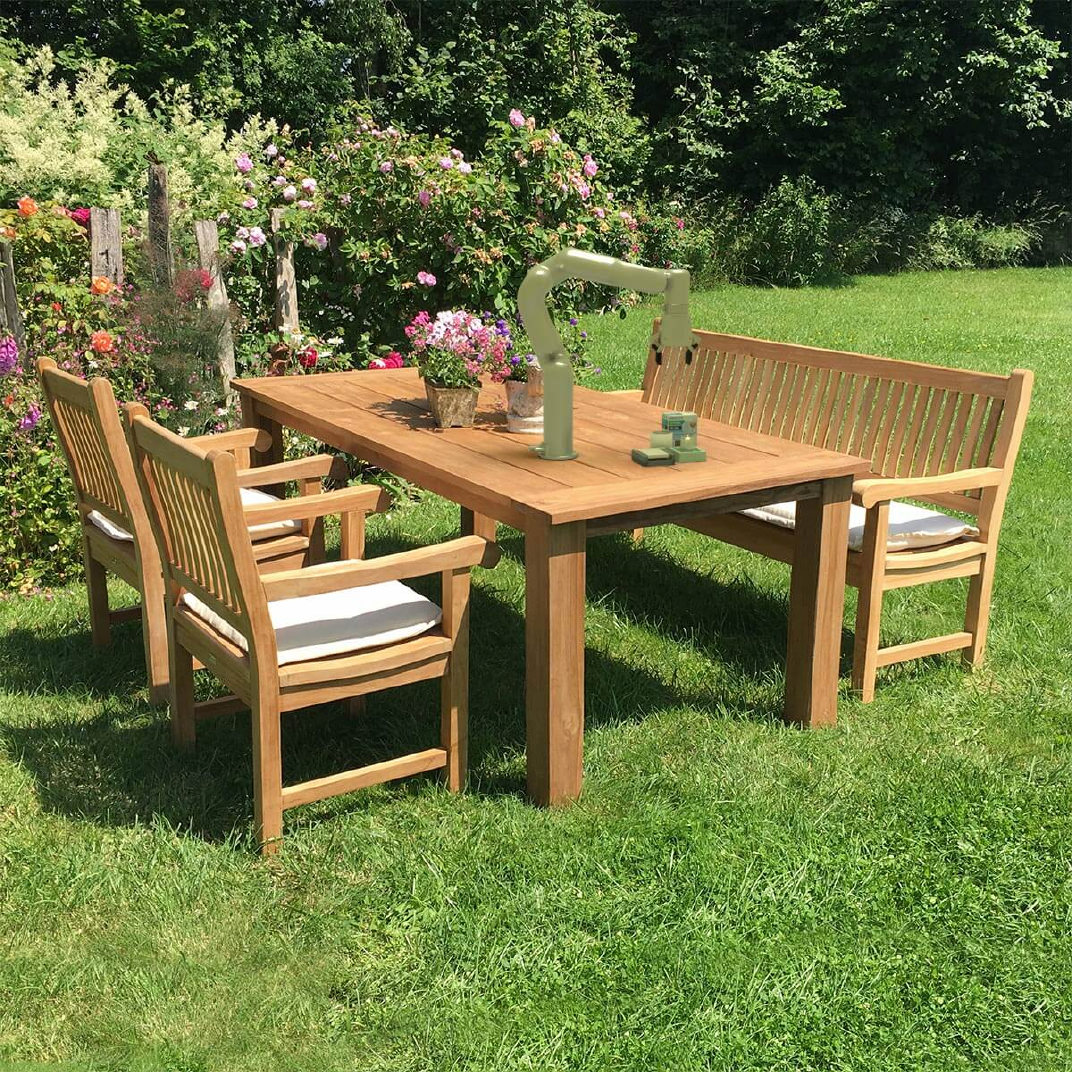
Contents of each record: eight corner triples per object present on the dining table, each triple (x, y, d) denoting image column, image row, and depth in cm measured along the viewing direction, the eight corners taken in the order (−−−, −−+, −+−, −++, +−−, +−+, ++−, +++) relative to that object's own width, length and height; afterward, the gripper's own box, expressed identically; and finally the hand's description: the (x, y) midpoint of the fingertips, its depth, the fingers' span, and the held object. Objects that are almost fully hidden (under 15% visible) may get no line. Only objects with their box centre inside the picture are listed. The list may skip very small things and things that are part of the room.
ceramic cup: (654, 456, 384) (655, 434, 382) (647, 452, 391) (647, 430, 389) (675, 455, 386) (675, 433, 384) (667, 451, 393) (667, 429, 391)
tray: (679, 462, 375) (679, 453, 374) (668, 457, 384) (669, 447, 383) (706, 461, 377) (706, 451, 377) (694, 455, 386) (695, 446, 385)
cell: (683, 459, 378) (683, 437, 376) (678, 456, 382) (678, 434, 380) (696, 458, 379) (696, 436, 377) (690, 455, 383) (691, 433, 381)
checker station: (644, 467, 370) (644, 456, 369) (631, 459, 381) (631, 448, 380) (676, 464, 372) (676, 454, 371) (662, 457, 384) (662, 446, 383)
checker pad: (648, 458, 370) (648, 455, 370) (637, 452, 380) (637, 449, 379) (669, 457, 372) (669, 454, 372) (657, 451, 381) (657, 448, 381)
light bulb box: (667, 448, 398) (668, 415, 395) (660, 444, 404) (661, 412, 401) (697, 446, 401) (698, 414, 398) (689, 442, 407) (690, 410, 404)
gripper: (653, 310, 368) (651, 366, 373) (706, 310, 372) (703, 365, 377) (645, 308, 375) (643, 363, 380) (697, 308, 379) (695, 362, 384)
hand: (673, 364), depth 378 cm, fingers open, 9 cm apart
